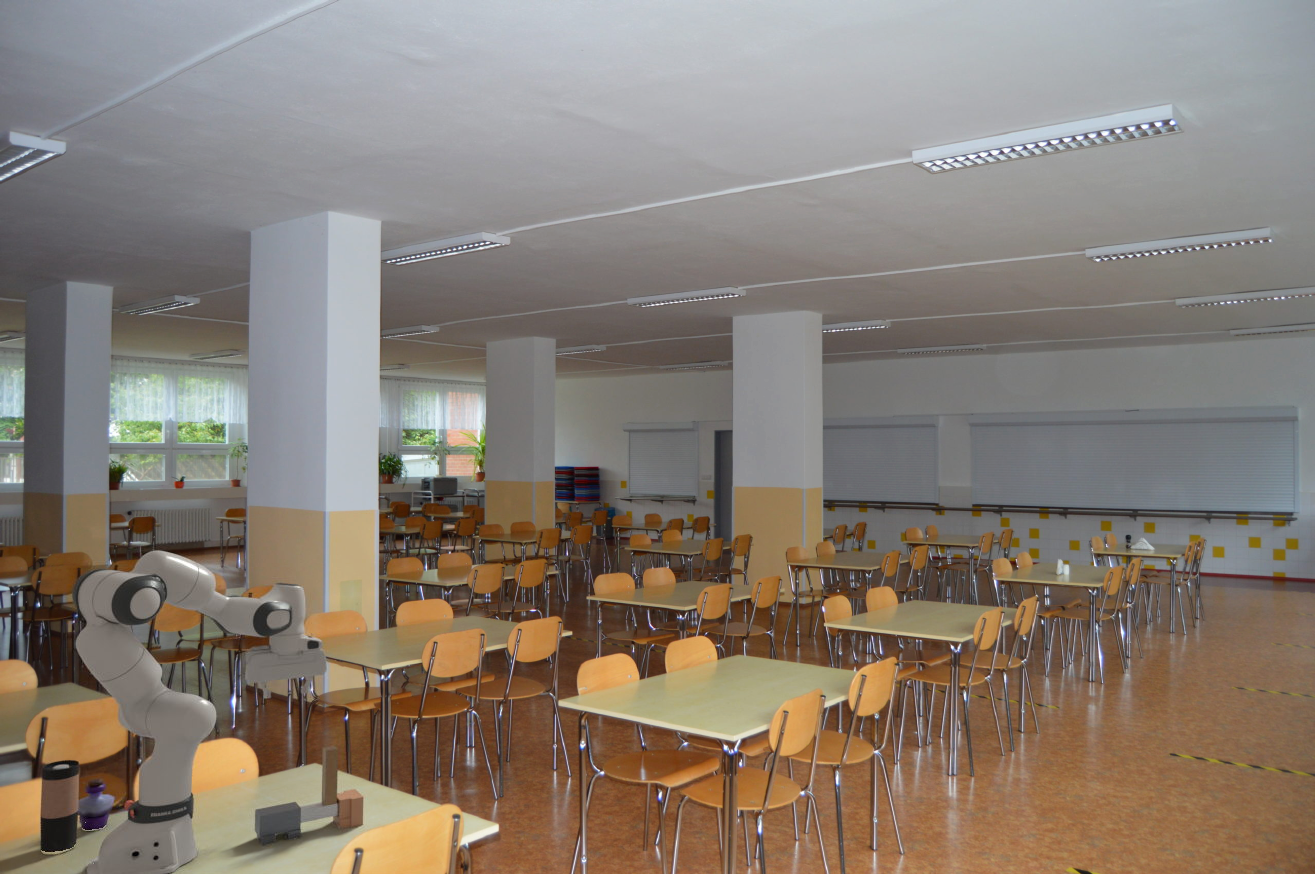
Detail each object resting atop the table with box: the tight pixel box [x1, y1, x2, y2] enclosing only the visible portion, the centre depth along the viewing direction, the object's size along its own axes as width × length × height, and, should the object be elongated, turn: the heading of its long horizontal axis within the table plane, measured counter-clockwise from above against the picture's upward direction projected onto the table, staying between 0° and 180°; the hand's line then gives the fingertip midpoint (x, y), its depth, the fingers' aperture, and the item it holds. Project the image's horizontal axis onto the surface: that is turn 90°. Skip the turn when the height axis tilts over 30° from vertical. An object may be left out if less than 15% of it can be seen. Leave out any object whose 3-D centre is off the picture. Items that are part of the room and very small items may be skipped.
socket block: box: [332, 788, 364, 830], centre depth 238 cm, size 6×7×7 cm
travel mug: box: [39, 759, 80, 852], centre depth 221 cm, size 8×8×20 cm
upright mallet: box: [300, 745, 339, 824], centre depth 234 cm, size 14×3×17 cm, turn 125°
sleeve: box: [254, 801, 302, 847], centre depth 228 cm, size 10×6×7 cm, turn 125°
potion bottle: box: [78, 778, 115, 830], centre depth 233 cm, size 9×9×12 cm
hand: (286, 695), depth 245 cm, fingers open, 8 cm apart
